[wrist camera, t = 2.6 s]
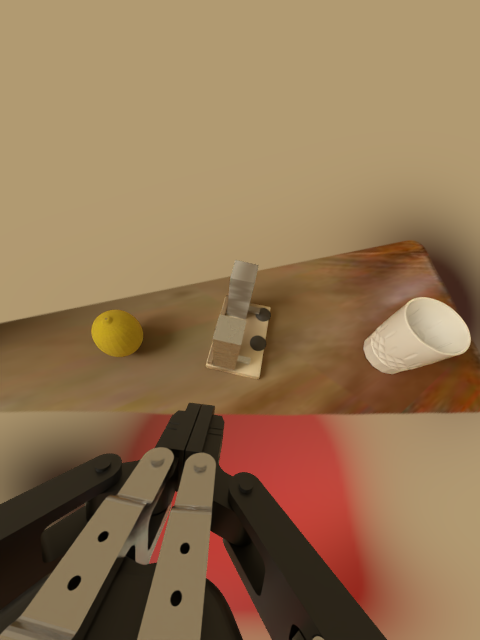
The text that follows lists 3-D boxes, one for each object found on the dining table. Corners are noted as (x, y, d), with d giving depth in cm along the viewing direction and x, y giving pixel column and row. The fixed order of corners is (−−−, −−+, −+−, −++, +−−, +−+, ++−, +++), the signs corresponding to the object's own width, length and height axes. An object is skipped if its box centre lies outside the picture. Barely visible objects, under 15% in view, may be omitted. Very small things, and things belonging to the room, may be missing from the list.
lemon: (147, 325, 35) (129, 294, 28) (151, 358, 32) (134, 334, 25) (107, 333, 33) (79, 303, 26) (109, 369, 31) (78, 346, 24)
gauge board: (206, 367, 32) (202, 338, 23) (225, 301, 38) (228, 257, 29) (259, 379, 32) (276, 354, 23) (270, 311, 38) (287, 270, 29)
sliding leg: (213, 365, 31) (212, 338, 23) (218, 345, 33) (219, 314, 25) (247, 373, 31) (258, 349, 23) (251, 353, 33) (262, 324, 25)
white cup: (375, 383, 34) (432, 362, 25) (350, 336, 37) (392, 302, 28) (418, 371, 35) (485, 347, 26) (390, 327, 39) (441, 292, 30)
